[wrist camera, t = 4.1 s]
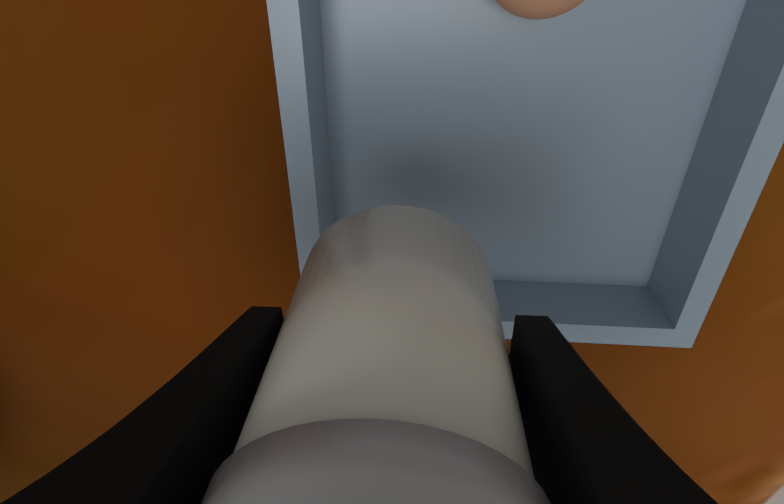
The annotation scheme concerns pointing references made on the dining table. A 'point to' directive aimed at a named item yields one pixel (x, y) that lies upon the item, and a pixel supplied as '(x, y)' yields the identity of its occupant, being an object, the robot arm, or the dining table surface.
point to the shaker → (386, 378)
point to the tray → (544, 142)
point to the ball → (538, 7)
